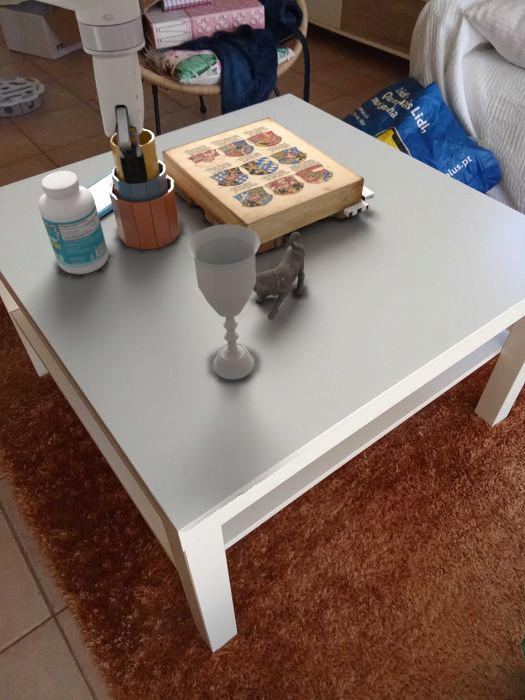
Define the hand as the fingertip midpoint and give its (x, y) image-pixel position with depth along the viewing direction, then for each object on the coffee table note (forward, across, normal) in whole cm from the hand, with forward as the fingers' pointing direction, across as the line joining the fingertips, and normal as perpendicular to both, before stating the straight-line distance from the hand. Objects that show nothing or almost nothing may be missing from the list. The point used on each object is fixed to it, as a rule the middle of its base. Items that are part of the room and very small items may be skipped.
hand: (137, 168), depth 81 cm
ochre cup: (+7, 0, 0) cm, 7 cm away
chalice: (+11, +30, +11) cm, 34 cm away
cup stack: (+11, 0, 0) cm, 11 cm away
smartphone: (+11, -11, -8) cm, 18 cm away
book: (+11, -7, +20) cm, 24 cm away
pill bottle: (+11, +6, -10) cm, 16 cm away
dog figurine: (+11, +18, +18) cm, 28 cm away
